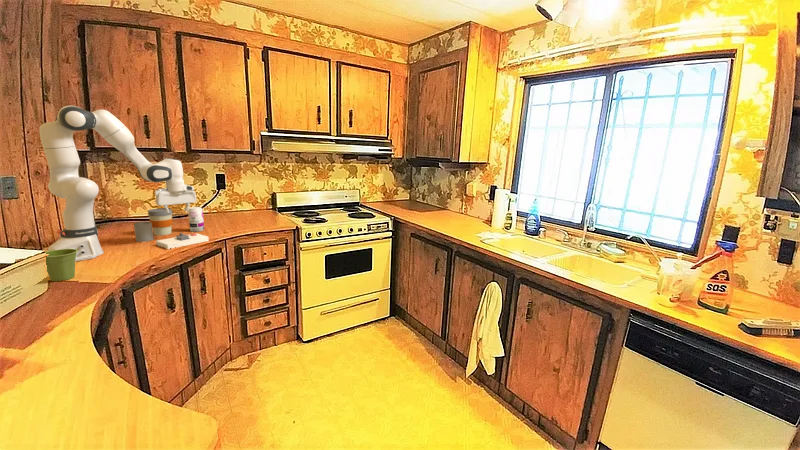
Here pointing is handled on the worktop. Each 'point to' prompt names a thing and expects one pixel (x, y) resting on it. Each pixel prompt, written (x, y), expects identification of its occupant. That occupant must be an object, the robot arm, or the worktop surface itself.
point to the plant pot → (61, 264)
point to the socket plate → (177, 243)
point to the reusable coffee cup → (160, 221)
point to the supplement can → (196, 219)
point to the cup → (143, 231)
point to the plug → (182, 237)
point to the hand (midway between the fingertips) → (177, 211)
